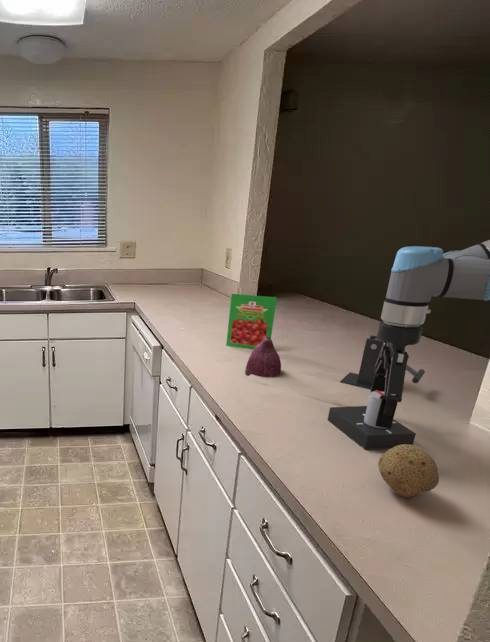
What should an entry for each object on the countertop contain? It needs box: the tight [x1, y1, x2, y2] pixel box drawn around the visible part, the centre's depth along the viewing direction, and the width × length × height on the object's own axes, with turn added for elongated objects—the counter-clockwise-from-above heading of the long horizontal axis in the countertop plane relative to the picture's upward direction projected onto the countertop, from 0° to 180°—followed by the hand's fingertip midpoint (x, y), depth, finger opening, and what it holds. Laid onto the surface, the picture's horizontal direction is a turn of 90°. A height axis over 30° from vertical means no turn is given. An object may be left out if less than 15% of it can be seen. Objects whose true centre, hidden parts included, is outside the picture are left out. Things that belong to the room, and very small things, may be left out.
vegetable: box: [244, 336, 282, 378], centre depth 134 cm, size 10×10×15 cm
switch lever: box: [375, 338, 426, 384], centre depth 121 cm, size 15×9×2 cm, turn 45°
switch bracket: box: [339, 334, 383, 391], centre depth 125 cm, size 12×10×15 cm
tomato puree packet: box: [225, 293, 278, 350], centre depth 159 cm, size 15×1×20 cm, turn 62°
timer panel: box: [327, 405, 417, 450], centre depth 102 cm, size 14×11×4 cm
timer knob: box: [364, 390, 393, 429], centre depth 98 cm, size 5×5×7 cm
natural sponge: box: [377, 444, 440, 498], centre depth 79 cm, size 9×9×10 cm
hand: (378, 413), depth 98 cm, fingers open, 13 cm apart
